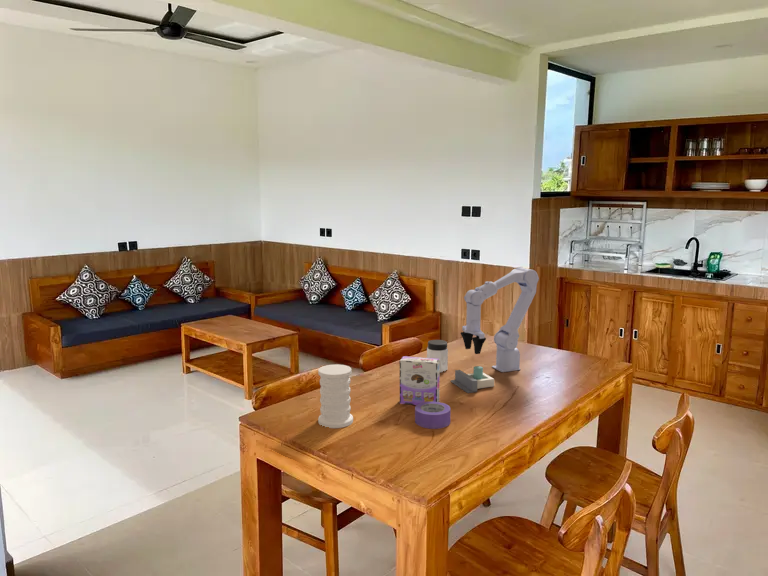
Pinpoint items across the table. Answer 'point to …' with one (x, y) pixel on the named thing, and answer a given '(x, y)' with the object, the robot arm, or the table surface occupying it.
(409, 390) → the candy box
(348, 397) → the decorative container
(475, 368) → the dowel
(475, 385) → the wall
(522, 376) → the table surface
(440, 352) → the jar
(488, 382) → the block
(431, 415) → the tape roll
